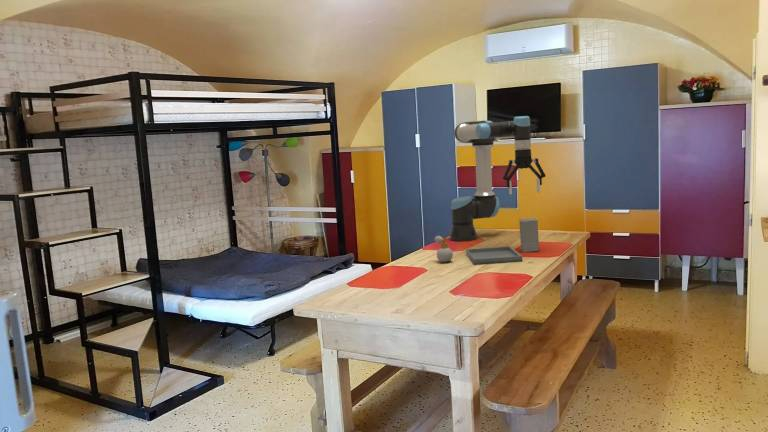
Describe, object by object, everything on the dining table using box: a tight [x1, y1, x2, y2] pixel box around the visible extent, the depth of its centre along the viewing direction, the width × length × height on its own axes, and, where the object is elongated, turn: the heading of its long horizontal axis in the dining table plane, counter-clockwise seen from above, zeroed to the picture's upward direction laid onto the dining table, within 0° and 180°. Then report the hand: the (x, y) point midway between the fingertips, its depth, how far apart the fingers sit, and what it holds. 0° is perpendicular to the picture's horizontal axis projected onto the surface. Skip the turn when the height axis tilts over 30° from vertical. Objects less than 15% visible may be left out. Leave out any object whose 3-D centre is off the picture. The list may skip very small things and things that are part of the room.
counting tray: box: [465, 245, 523, 266], centre depth 291 cm, size 24×22×2 cm
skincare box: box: [518, 217, 540, 253], centre depth 300 cm, size 8×7×16 cm
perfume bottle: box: [434, 235, 454, 263], centre depth 289 cm, size 8×10×12 cm
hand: (524, 193), depth 295 cm, fingers open, 13 cm apart
